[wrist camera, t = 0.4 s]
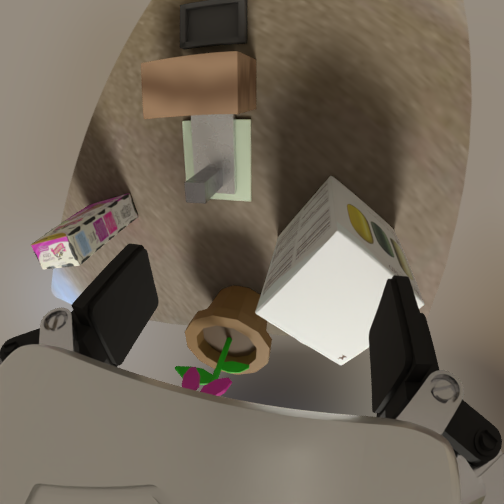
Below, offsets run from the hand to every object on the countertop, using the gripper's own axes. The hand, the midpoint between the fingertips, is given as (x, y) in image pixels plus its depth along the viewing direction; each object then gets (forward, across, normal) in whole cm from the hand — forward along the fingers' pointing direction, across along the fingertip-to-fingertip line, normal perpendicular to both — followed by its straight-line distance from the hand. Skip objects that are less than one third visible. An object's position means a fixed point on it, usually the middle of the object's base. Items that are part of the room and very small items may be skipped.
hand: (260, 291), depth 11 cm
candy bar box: (+32, +33, +13) cm, 48 cm away
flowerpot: (+31, +9, +31) cm, 45 cm away
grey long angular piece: (+32, +12, -1) cm, 34 cm away
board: (+32, +12, +4) cm, 34 cm away
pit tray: (+32, +12, -16) cm, 38 cm away
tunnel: (+32, +12, -7) cm, 35 cm away
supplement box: (+32, -6, +14) cm, 35 cm away
